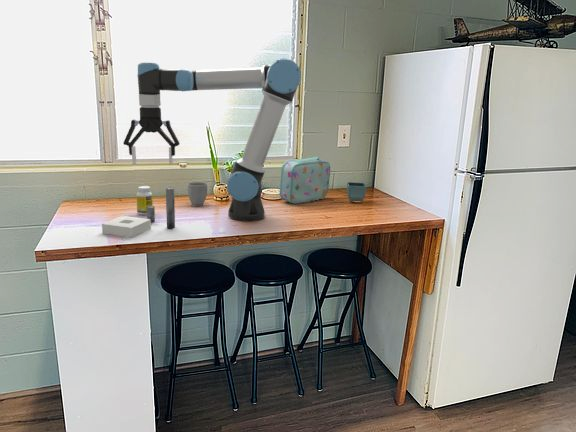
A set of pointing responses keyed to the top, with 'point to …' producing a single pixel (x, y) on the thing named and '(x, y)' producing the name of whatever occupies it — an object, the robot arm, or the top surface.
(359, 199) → the flower pot
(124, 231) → the socket block
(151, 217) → the short pin
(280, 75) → the robot arm
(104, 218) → the top surface
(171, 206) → the long pin
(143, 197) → the pill bottle
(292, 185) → the lunch box
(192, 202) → the mug
